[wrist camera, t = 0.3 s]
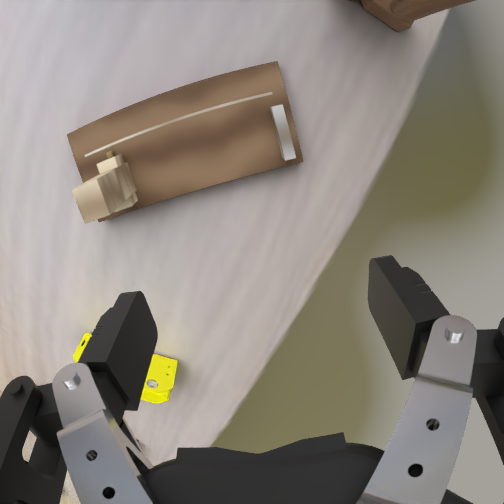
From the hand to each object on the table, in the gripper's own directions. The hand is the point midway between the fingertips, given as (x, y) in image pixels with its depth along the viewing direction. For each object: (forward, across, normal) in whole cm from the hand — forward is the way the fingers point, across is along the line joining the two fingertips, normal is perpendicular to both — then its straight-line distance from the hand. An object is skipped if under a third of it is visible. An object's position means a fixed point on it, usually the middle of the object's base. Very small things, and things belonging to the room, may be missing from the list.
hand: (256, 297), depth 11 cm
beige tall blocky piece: (+26, +15, 0) cm, 31 cm away
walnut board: (+29, +8, -3) cm, 30 cm away
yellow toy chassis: (+28, +24, +28) cm, 46 cm away
